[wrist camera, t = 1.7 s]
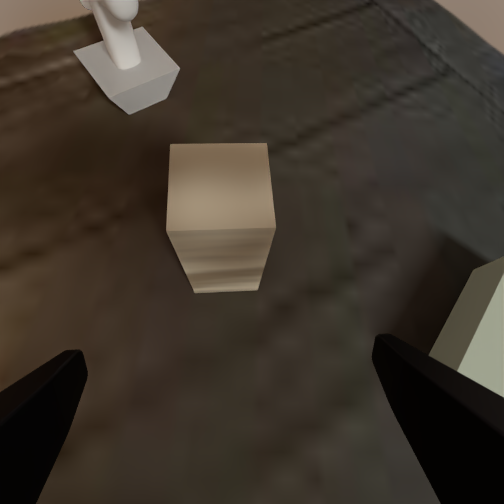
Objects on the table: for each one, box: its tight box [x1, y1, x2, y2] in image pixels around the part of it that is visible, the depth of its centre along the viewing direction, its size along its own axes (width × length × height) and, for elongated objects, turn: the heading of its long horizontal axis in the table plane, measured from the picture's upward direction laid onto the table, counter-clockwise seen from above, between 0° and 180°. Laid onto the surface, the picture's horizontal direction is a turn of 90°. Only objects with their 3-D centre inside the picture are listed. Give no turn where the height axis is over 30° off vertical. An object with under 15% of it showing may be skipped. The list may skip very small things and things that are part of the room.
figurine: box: [73, 0, 180, 115], centre depth 24 cm, size 7×9×15 cm
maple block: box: [166, 143, 276, 293], centre depth 19 cm, size 5×5×11 cm
